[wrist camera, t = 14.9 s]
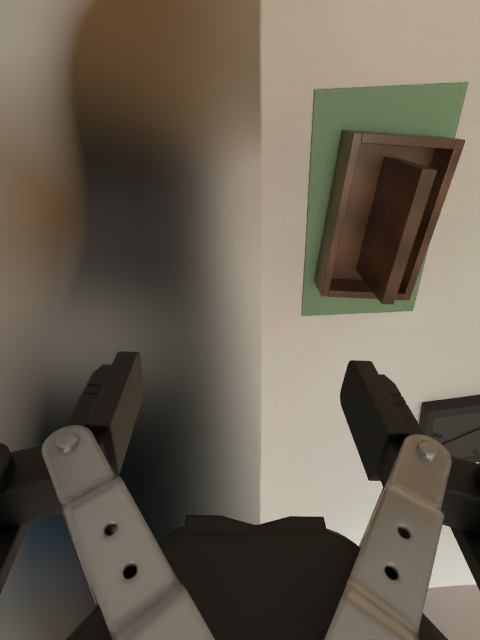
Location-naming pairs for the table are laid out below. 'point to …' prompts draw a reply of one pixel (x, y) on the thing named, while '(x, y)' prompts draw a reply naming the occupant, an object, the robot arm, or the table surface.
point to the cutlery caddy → (383, 212)
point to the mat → (328, 122)
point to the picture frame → (454, 425)
